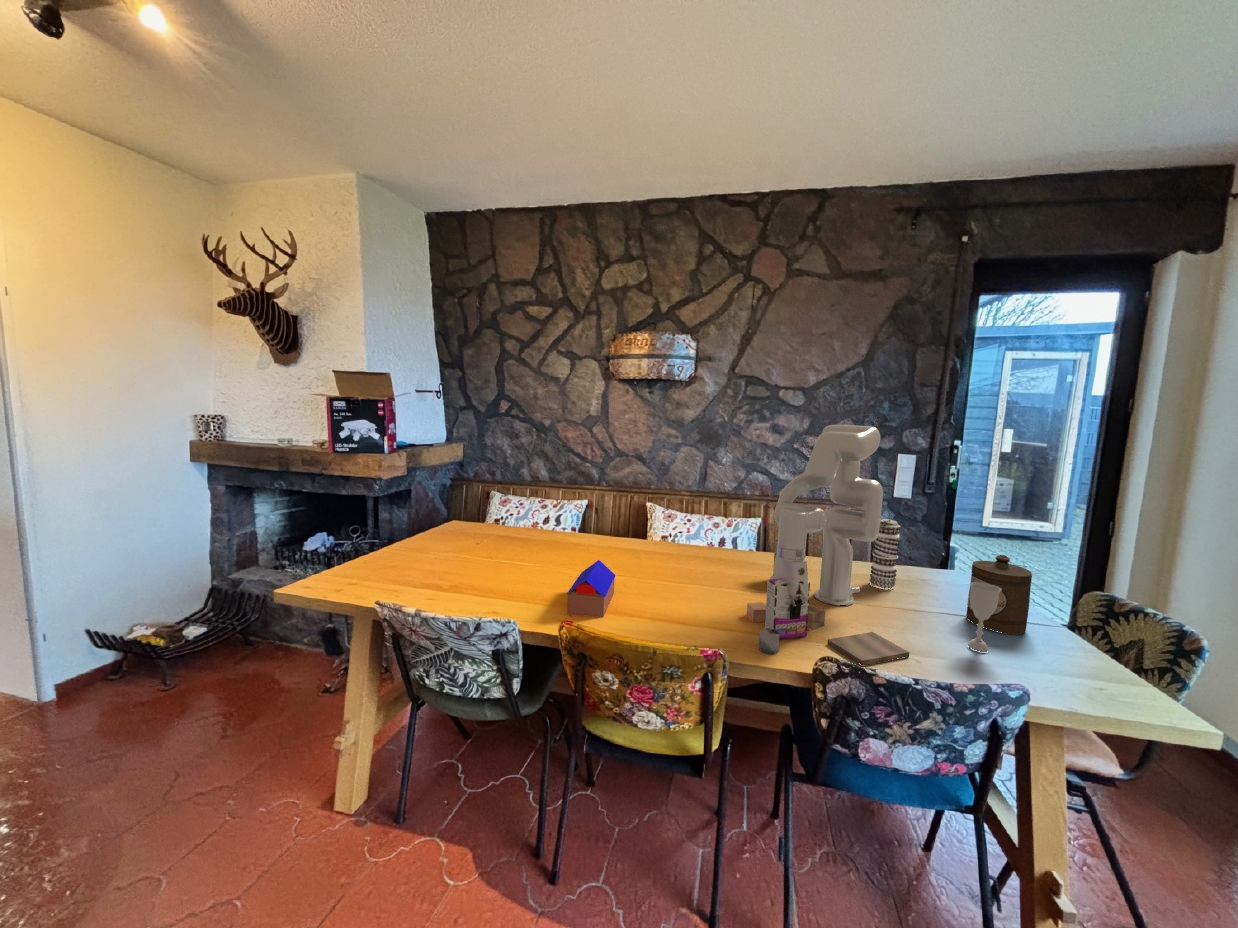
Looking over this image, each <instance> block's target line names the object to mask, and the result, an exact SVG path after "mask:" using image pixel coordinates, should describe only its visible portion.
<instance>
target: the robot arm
mask: <svg viewBox="0 0 1238 928" xmlns="http://www.w3.org/2000/svg"><path fill="white" fill-rule="evenodd" d="M880 443H881V433H880V430H879V429H878V428H877V427H875V426H871V425H870V426H869V425H855V424H854V425H852V424H830V425H826V426H825V427H824V428H822V432H821V433H820V434H819V436H817V438H816V441H815V443H814V445H813V448H812V451H811V453H810V454H811V455H810V457H809V459H808V462H807V465H806V468H805V470H804V471H803V472H802V473H800V474H799V475H798V476H796V477H794V478H793V479H792V480H790V482H788V483H787V484H786V485H785V486H784V488H783V489H782V490H781V492H780V495H779V497H778V499H777V503H776V505H775V509H774V512H773V513H774V514H773V516H774V521H775V523H776V524H777V525H778V530H777V531H778V533H777V535H778V536H777V540H778V545H777V555H776V558H775V563H774V562H773V568H774V569H773V570H772V576H771V577H769V579H779V580H781V581H782V582H784V583H786V584H787V592H788V594H789V595H790V596H791V601H792V605H791V606H790V619H791V620H793V619H799V618H800V614H801V606H802V605H803V604H804V603H805V602H806V601H807V600H808V599H809V600H810V595H809V596H808V594H807V590H808V581H809V572H808V564H807V563H808V562H807V560H806V556H807V555H806V549H807V548H806V546H807V538H808V537H807V535H808V534H816V533H819V532H821V531H822V554H821V555H822V556H821V563H820V564H821V565H820V566H821V567H820V579H819V589H816V590H814V592H813V593H814V594H813V595H814V597H815V598H816V600H819V601H821V602H822V603H825V604H828V605H833V606H840V605H846V606H850V605H853V604H854V602H855V597H853V596H852V595H853V594H854V593H855V594H856V593H861V588H860V586H852V585H851V580H852V579H851V578H852V572H853V571H852V569H853V560H854V559H853V558H854V549H853V546H852V544H851V542H850V540H854V541H860V542H865V543H873V541H875V540H876V539H877V537H878V534H879V528H880V519H882V517H881V516H882V509H883V499H884V496H883V495H884V491H883V487H882V484H881V483H880V482H879V481H877V480H875V479H869V478H861V477H860V472H861V471H860V470H861V462H862V461H864V460H866V459H867V458H869V457H870V456H871V455H874V453H875V452H876V451H877V450H878V448H879V447H880ZM829 485H830V486H829ZM826 486H829V498H830V500H831V501H832V502H833V503H835V504H837V505H842V506H849V507H855V508H861V509H862V510H863V511H859V510H853V509H848V508H841V507H831V508H827V509H826V510H825V511H824V510H823V508H820V507H818V506H813V505H808V504H807V505H806V504H802V503H796V502H794V501H795V499H797V497H799V496H800V495H802V494H804V493H806V492H809V491H812V490H815V489H820V488H824V487H826ZM796 592H797V594H796ZM796 596H797V597H798V600H796V599H795V597H796Z"/></svg>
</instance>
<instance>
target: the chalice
mask: <svg viewBox="0 0 1238 928" xmlns="http://www.w3.org/2000/svg"><path fill="white" fill-rule="evenodd" d="M970 586H971V594H970V604H971V608H972V610H973V612H974V615H975V617H976V618H978V619H979V623H978V625H977V626H976V627H977V630H976V631H975V633H976V637H975V638H972V639H971V640H969V642H968V644H967V645H968V646H969V648H972V649H974V650H977V651H980V652H987V651H989V649H988V645H987V644H986V642H985V641H984V640H983V639H982V636H983V635H984V631H983V627H984V626H983V621H984V620H988V618H989V617H990V616H991V615H992V614H993V613H994V611H995V609H996V608H997V604H998V597H999V593H1000V591H1001V590H1002V589H1001V588H1000V587H998V586H995V585H992V584H987V583H981V582H972V583H971V582H969V587H970Z"/></svg>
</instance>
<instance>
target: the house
mask: <svg viewBox="0 0 1238 928" xmlns="http://www.w3.org/2000/svg"><path fill="white" fill-rule="evenodd" d="M616 576H617V575H616V573H614V572H613V571H612V570H611V569H610V568H609V567H607V566H606V564H604V563H603V561H601V560H600V559H597V560H596V561H595V562H594V563H592V564H591V565H589V566H588V567H586V568H585V569H584V570H583V571H582V572H580V574H579V575H578V577H577V578H576V579H575V581H574V583H573V584H572V585H571V587H570V588H569V589H568V591H567V593H566V595H567V601H566V602H567V606H566V607H567V608H566V609H567V612H566V613H567V614H568V615H574V616H575V615H577V616H587V617H596V618H604V617H605V615H606V612H607V610H608V608H609V606H608V605H610V603H611V602H612V600H613V597H614V595H615V582H616V581H615V578H616ZM610 601H611V602H610Z"/></svg>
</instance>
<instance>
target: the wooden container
mask: <svg viewBox="0 0 1238 928" xmlns="http://www.w3.org/2000/svg"><path fill="white" fill-rule="evenodd" d="M994 558H995V561H993V560H975V561H973V562H972V564H971V576H970V583H972V582H981V583H987V584H992V585H995V586H998V587H1000V588H1001V589H1002V590H1001V591H1000V593H999V597H998V604H997V608H996V609H995V611H994V613H993V614H992V615H991V616H990V617H989V618H988V620H984V621H983V626H984V628H987V629H992V630H994V631H998V632H1002V633H1001V634H1003V633H1007V634H1006V635H1012V634H1017V635H1023V634H1025V633H1026V632H1027V631H1026V630H1027V625H1028V618H1029V610H1030V602H1031V601H1030V598H1031V586H1032V580H1033V579H1032V578H1033V572H1032V571H1030V570H1029V569H1027V568H1025V567H1023V566H1019V565H1015V564H1011V563H1009V562H1010V561H1011V559H1010V557H1008V556H1007V555H1004V554H999V555H996V556H995V557H994ZM970 594H971V586H970V585H969V590H968V596H967V597H968V598H967V605H966V606H967V608H966V615H965V616H967V618H968V619H969V620H970V621H972V622H973V623H974V624H978V623H979V619H978V618H976V617H975V615H974V612H973V610H972V608H971V604H970ZM967 618H966V619H967ZM970 621H969V622H970ZM974 624H973V625H974ZM994 631H993V632H994ZM1025 631H1026V632H1025ZM998 632H997V633H998Z"/></svg>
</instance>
